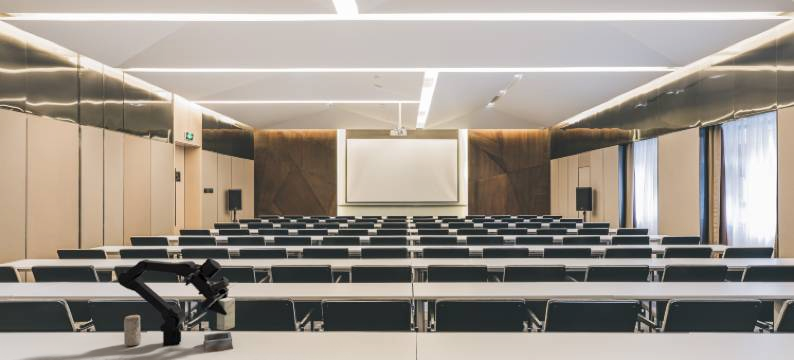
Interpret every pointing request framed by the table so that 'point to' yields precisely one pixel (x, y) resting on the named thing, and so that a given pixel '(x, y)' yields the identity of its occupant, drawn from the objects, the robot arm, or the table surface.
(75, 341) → the table surface
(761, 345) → the table surface
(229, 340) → the socket
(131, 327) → the carving
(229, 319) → the skincare box
